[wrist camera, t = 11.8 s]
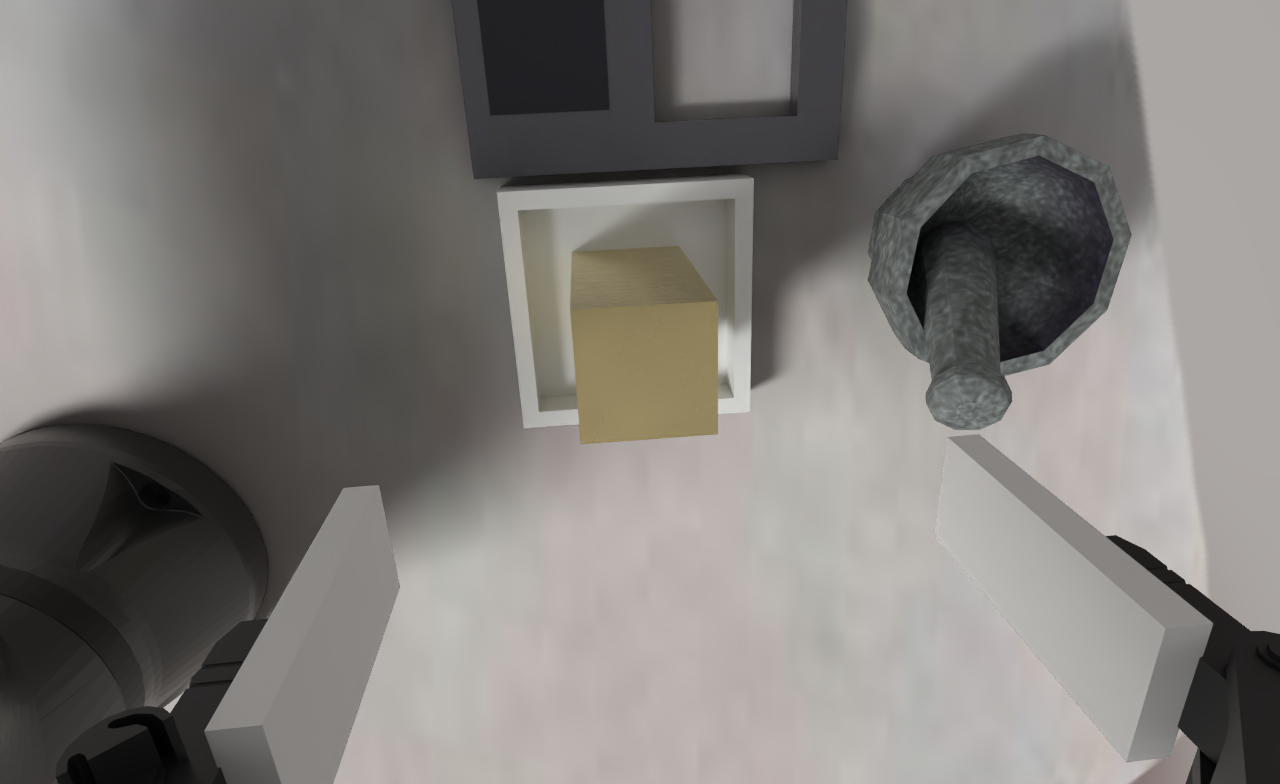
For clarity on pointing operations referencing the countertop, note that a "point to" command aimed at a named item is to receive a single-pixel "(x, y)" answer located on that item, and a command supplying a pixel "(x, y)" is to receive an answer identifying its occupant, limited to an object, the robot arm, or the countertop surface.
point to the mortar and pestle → (996, 266)
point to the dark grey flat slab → (623, 92)
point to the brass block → (643, 345)
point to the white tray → (621, 219)
